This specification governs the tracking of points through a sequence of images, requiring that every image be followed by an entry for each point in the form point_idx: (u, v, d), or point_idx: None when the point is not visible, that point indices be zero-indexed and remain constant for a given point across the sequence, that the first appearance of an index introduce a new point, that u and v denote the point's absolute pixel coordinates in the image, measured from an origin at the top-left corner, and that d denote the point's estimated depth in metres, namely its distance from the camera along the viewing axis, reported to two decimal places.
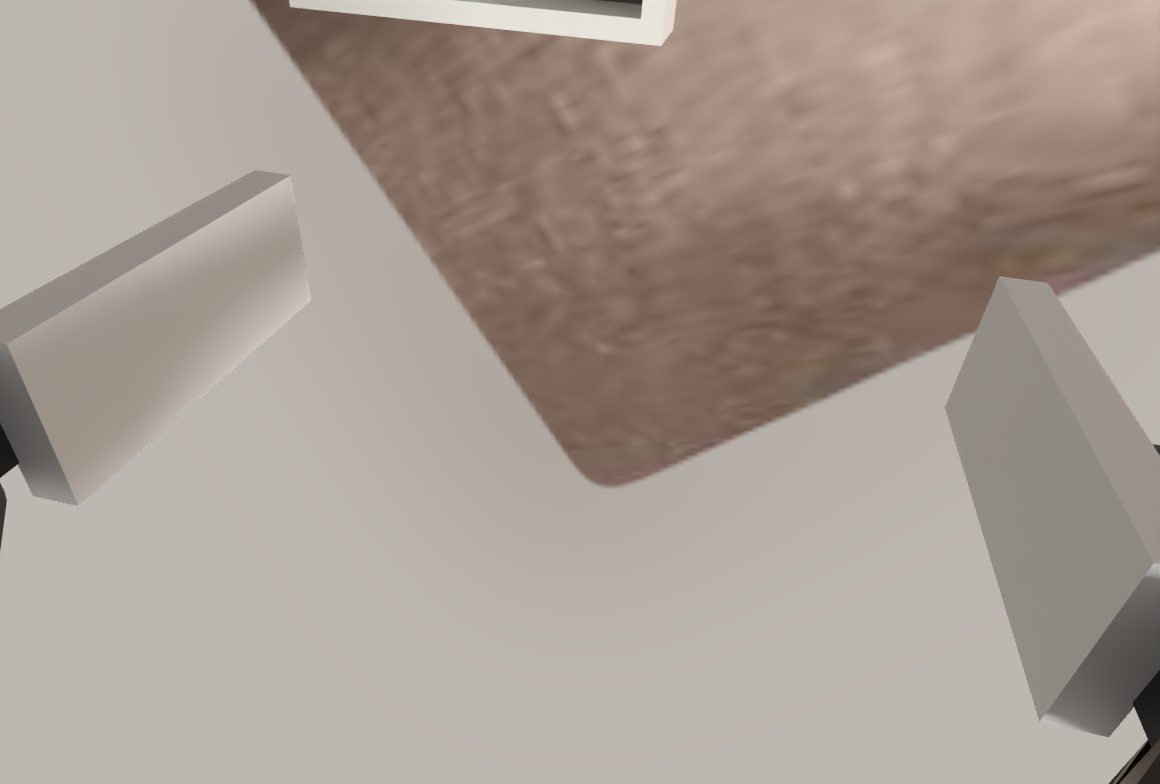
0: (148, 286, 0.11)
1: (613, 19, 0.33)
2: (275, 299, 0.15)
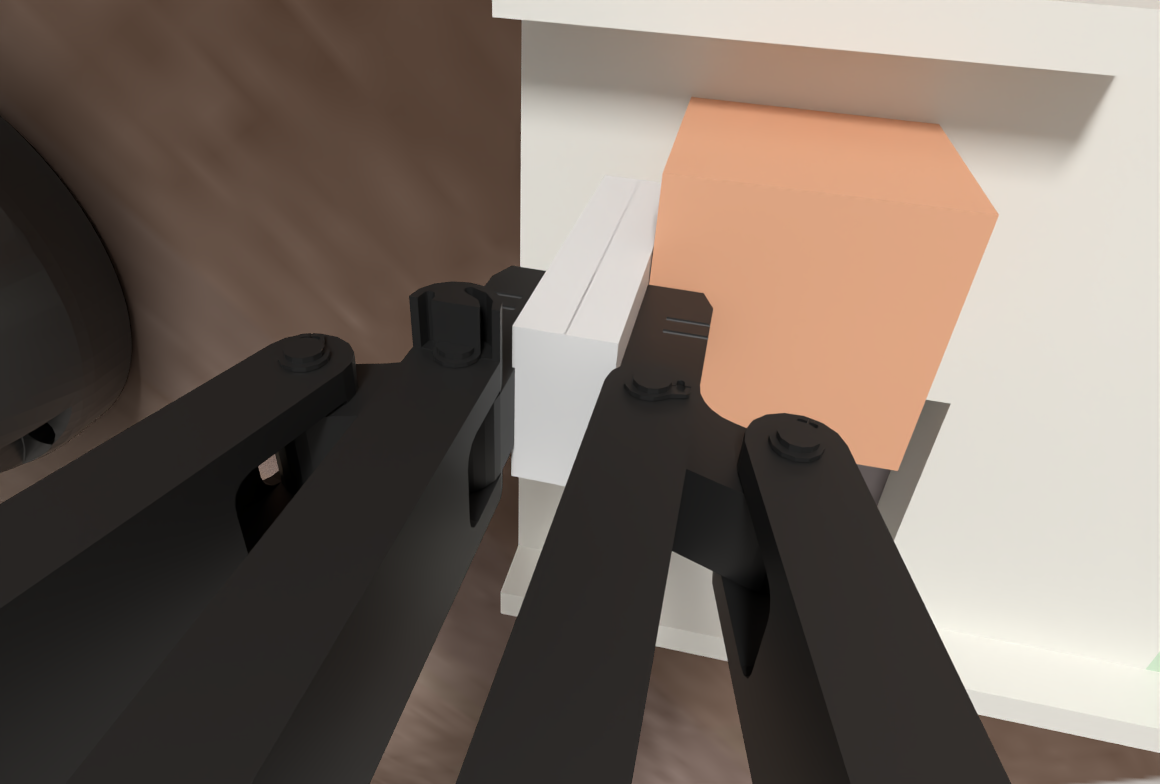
0: None
1: None
2: None
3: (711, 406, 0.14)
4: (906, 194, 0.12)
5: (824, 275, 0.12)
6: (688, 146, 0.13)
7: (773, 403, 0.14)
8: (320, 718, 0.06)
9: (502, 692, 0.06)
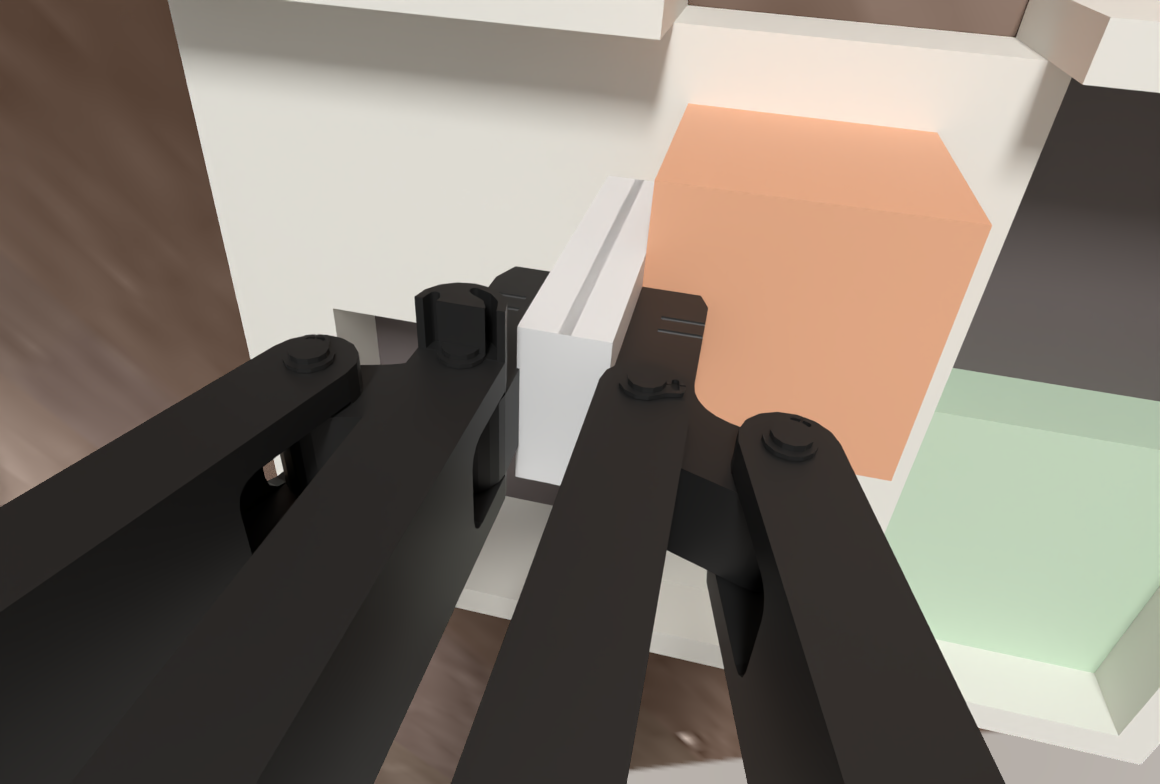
0: None
1: None
2: None
3: None
4: (899, 204, 0.12)
5: (816, 285, 0.12)
6: (682, 153, 0.13)
7: (766, 411, 0.14)
8: (324, 720, 0.06)
9: (497, 691, 0.06)
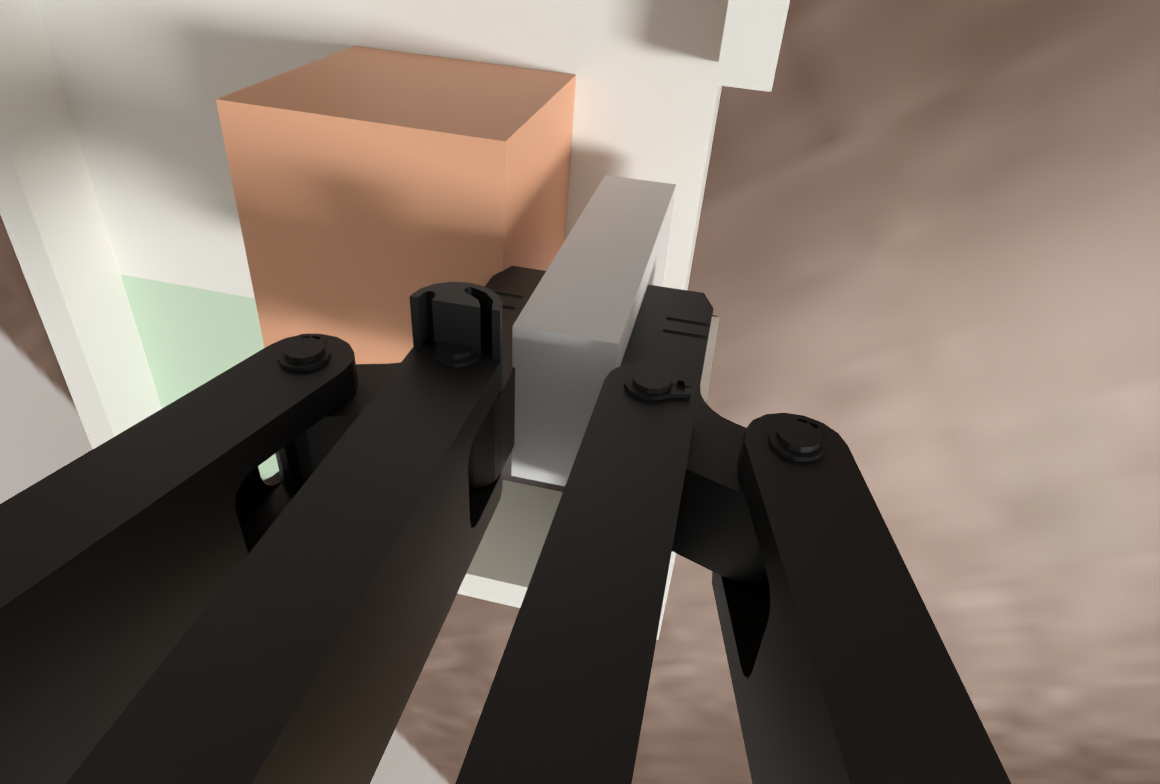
0: None
1: None
2: None
3: (271, 190, 0.13)
4: None
5: None
6: (531, 131, 0.13)
7: (295, 248, 0.14)
8: (320, 718, 0.06)
9: (502, 692, 0.06)
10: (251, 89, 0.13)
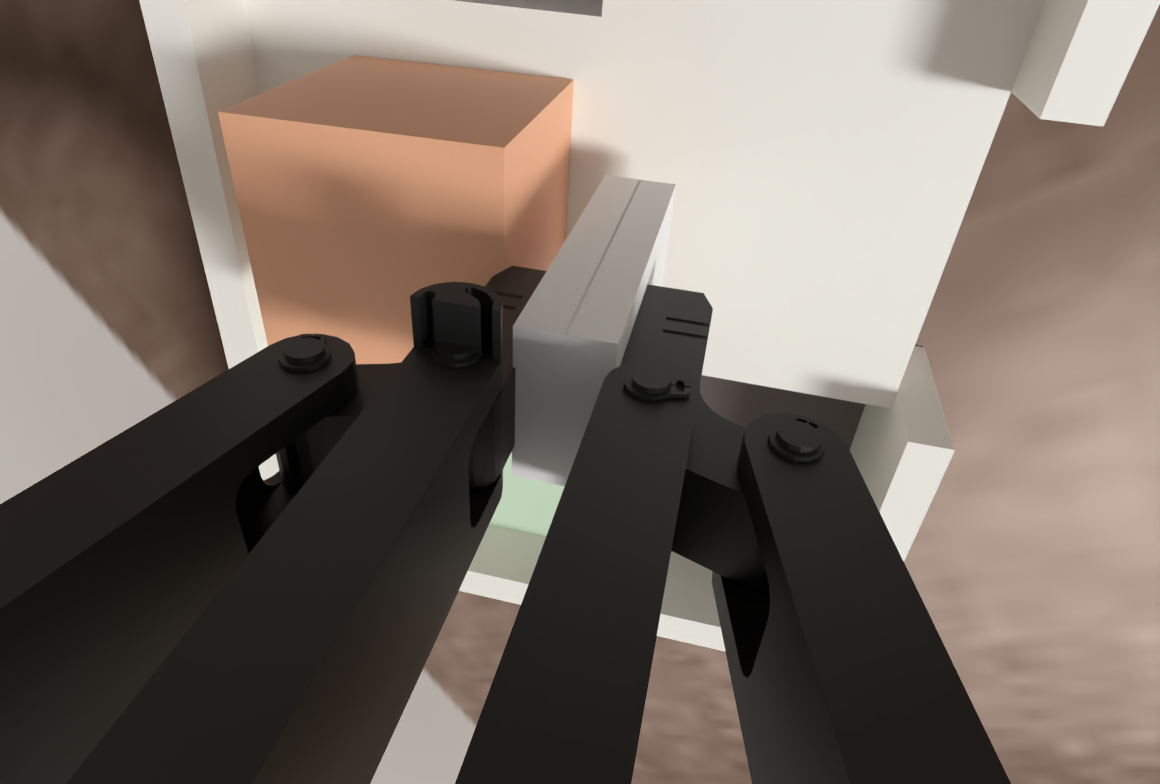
0: None
1: None
2: None
3: (273, 200, 0.13)
4: None
5: None
6: (530, 137, 0.13)
7: (299, 257, 0.14)
8: (320, 718, 0.06)
9: (501, 692, 0.06)
10: (252, 101, 0.13)
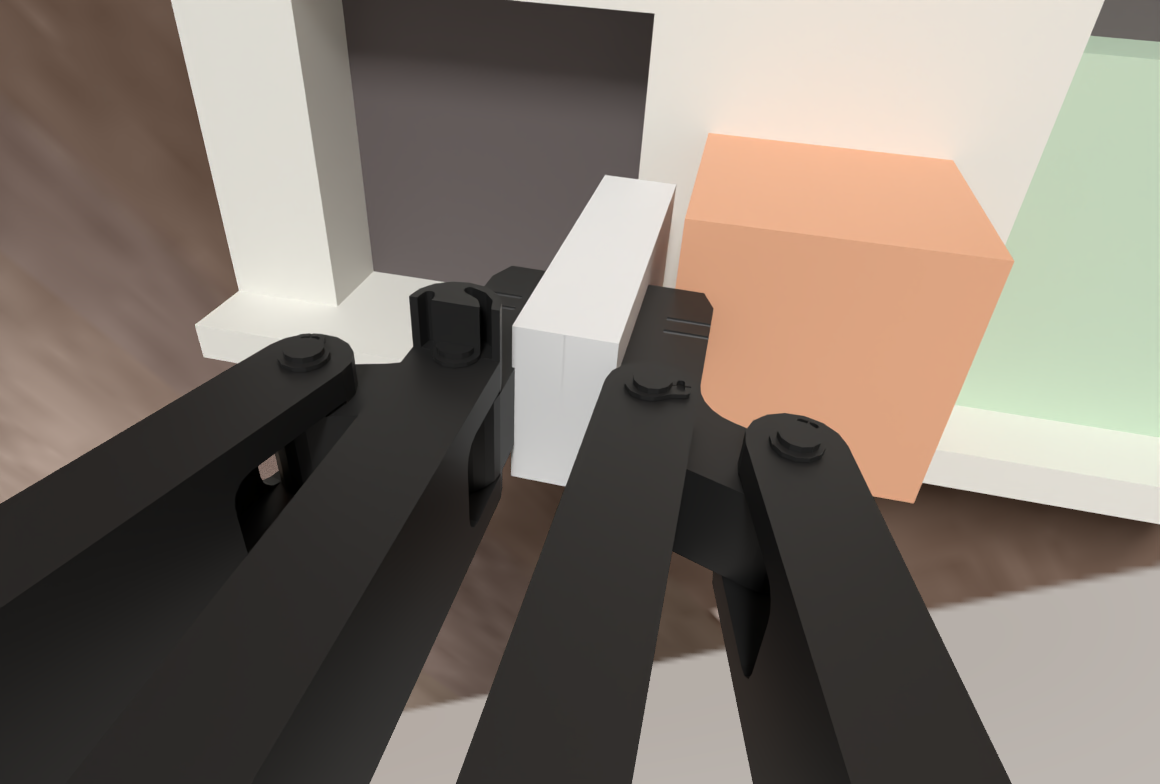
0: None
1: None
2: None
3: None
4: (923, 239, 0.12)
5: (841, 317, 0.12)
6: (708, 188, 0.13)
7: None
8: (320, 719, 0.06)
9: (502, 692, 0.06)
10: None
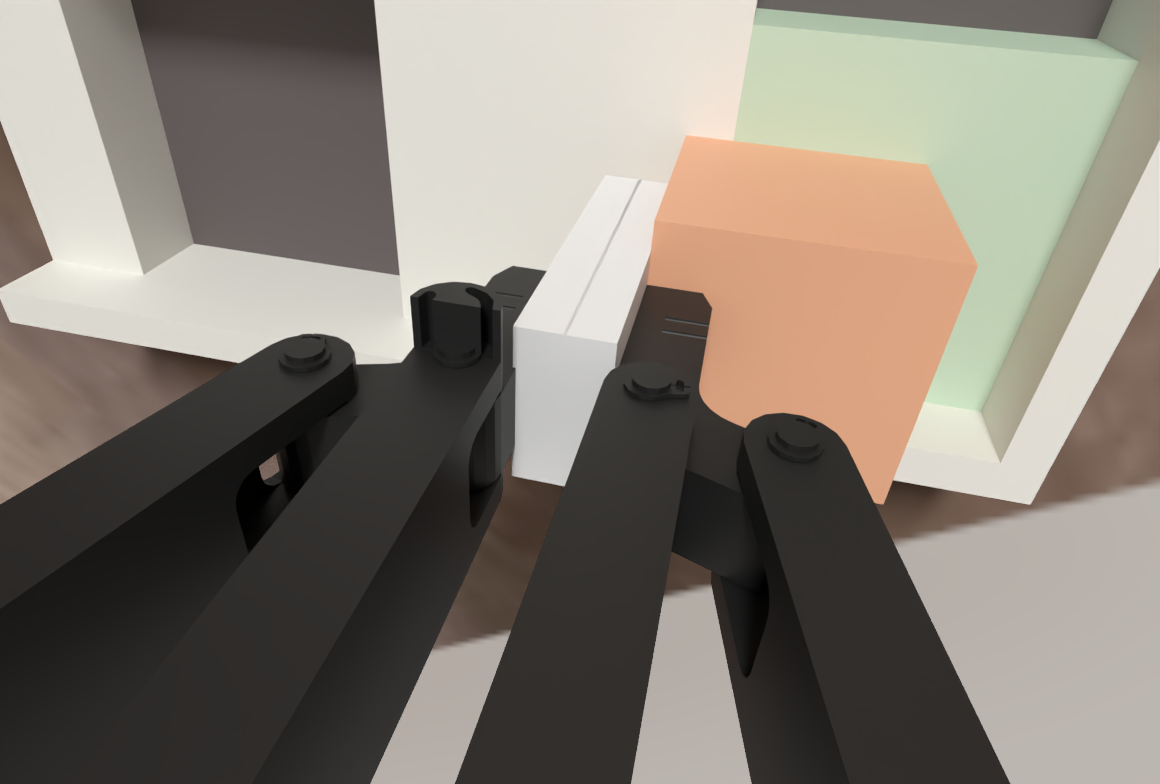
0: None
1: None
2: None
3: None
4: (890, 243, 0.12)
5: (810, 319, 0.13)
6: (680, 190, 0.13)
7: None
8: (320, 719, 0.06)
9: (501, 692, 0.06)
10: None
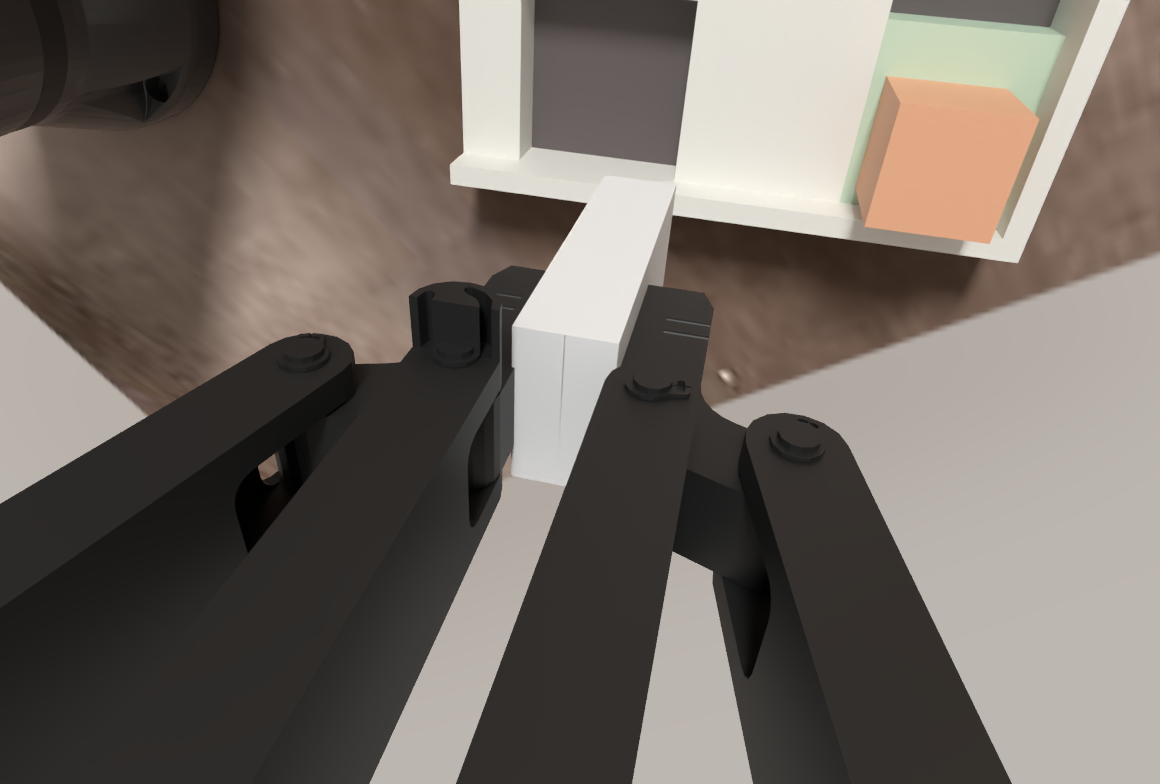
0: None
1: None
2: None
3: (905, 214, 0.31)
4: (1001, 112, 0.28)
5: (964, 147, 0.29)
6: (902, 94, 0.30)
7: (934, 211, 0.31)
8: (319, 718, 0.06)
9: (502, 692, 0.06)
10: (863, 216, 0.32)
